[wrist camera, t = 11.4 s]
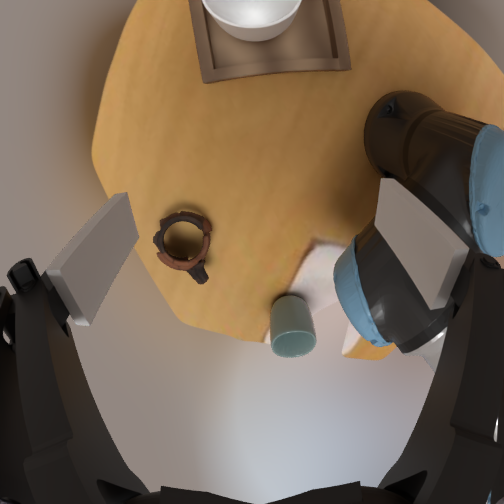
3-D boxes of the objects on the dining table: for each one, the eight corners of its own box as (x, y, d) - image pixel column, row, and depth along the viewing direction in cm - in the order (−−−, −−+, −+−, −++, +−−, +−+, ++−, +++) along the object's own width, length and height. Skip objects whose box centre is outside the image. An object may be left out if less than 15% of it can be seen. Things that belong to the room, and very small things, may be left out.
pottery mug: (145, 232, 44) (138, 234, 36) (191, 200, 45) (193, 195, 37) (186, 289, 47) (187, 303, 39) (230, 257, 48) (240, 265, 40)
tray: (321, -35, 19) (327, -45, 16) (342, 70, 29) (351, 69, 26) (189, -24, 21) (183, -33, 18) (207, 83, 31) (203, 83, 28)
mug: (240, 61, 28) (232, 44, 18) (205, 12, 24) (183, -20, 14) (321, 26, 25) (349, -1, 14) (286, -22, 21) (297, -63, 10)
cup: (305, 317, 54) (312, 357, 46) (267, 317, 54) (269, 358, 46) (311, 288, 50) (321, 330, 42) (269, 288, 50) (272, 331, 42)
